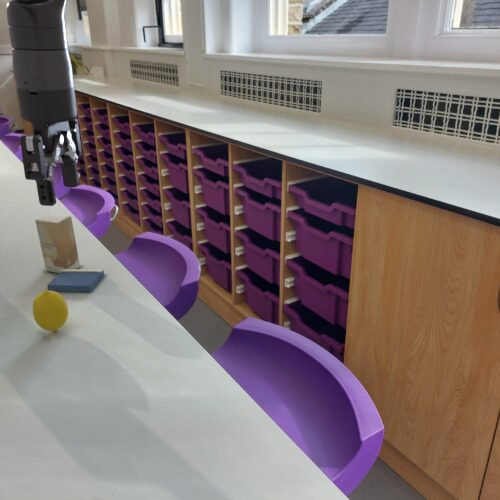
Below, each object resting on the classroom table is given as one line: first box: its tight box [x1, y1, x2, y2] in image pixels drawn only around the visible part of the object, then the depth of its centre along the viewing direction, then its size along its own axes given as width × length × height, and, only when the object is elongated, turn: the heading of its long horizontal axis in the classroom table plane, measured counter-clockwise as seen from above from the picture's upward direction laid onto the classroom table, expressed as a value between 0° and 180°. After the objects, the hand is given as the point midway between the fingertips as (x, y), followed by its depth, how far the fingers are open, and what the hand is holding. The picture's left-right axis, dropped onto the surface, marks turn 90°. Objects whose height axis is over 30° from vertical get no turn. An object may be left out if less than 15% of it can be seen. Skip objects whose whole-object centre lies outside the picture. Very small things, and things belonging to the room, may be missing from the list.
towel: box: [46, 268, 105, 293], centre depth 101 cm, size 9×7×2 cm
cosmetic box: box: [34, 212, 81, 274], centre depth 105 cm, size 6×4×12 cm
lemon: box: [32, 289, 69, 332], centre depth 83 cm, size 6×6×8 cm
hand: (60, 195), depth 74 cm, fingers open, 8 cm apart
